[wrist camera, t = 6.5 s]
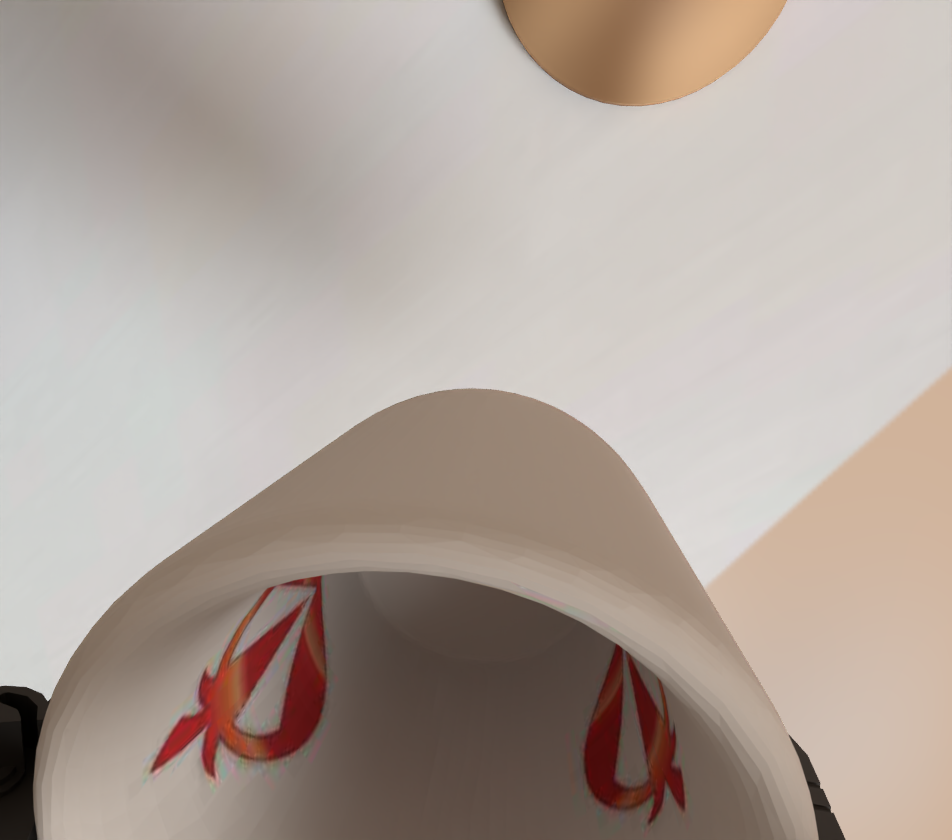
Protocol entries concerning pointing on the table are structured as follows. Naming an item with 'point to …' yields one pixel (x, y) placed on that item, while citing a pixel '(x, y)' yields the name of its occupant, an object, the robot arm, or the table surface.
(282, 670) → the cup
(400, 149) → the table surface
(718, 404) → the table surface
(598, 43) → the coaster
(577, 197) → the table surface
